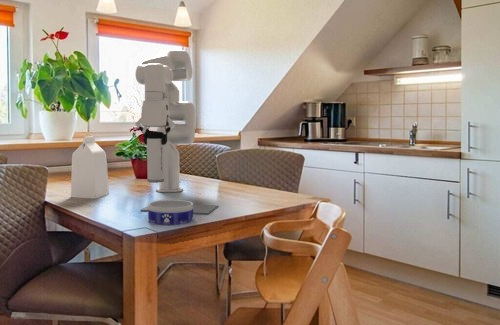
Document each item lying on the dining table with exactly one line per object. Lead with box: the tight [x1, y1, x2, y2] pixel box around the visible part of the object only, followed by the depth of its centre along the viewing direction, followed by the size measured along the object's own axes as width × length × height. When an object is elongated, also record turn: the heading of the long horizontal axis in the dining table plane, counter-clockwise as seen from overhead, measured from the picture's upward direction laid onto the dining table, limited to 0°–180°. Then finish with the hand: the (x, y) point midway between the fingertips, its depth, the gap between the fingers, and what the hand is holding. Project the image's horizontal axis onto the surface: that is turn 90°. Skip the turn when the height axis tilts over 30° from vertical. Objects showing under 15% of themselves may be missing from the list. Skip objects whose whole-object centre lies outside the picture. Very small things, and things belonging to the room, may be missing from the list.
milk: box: [70, 135, 110, 199], centre depth 208 cm, size 12×12×26 cm
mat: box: [140, 203, 219, 215], centre depth 182 cm, size 15×26×1 cm, turn 80°
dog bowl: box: [147, 199, 194, 226], centre depth 163 cm, size 15×15×6 cm
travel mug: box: [146, 129, 164, 184], centre depth 182 cm, size 6×7×20 cm
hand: (155, 143), depth 181 cm, fingers closed on travel mug, 6 cm apart
